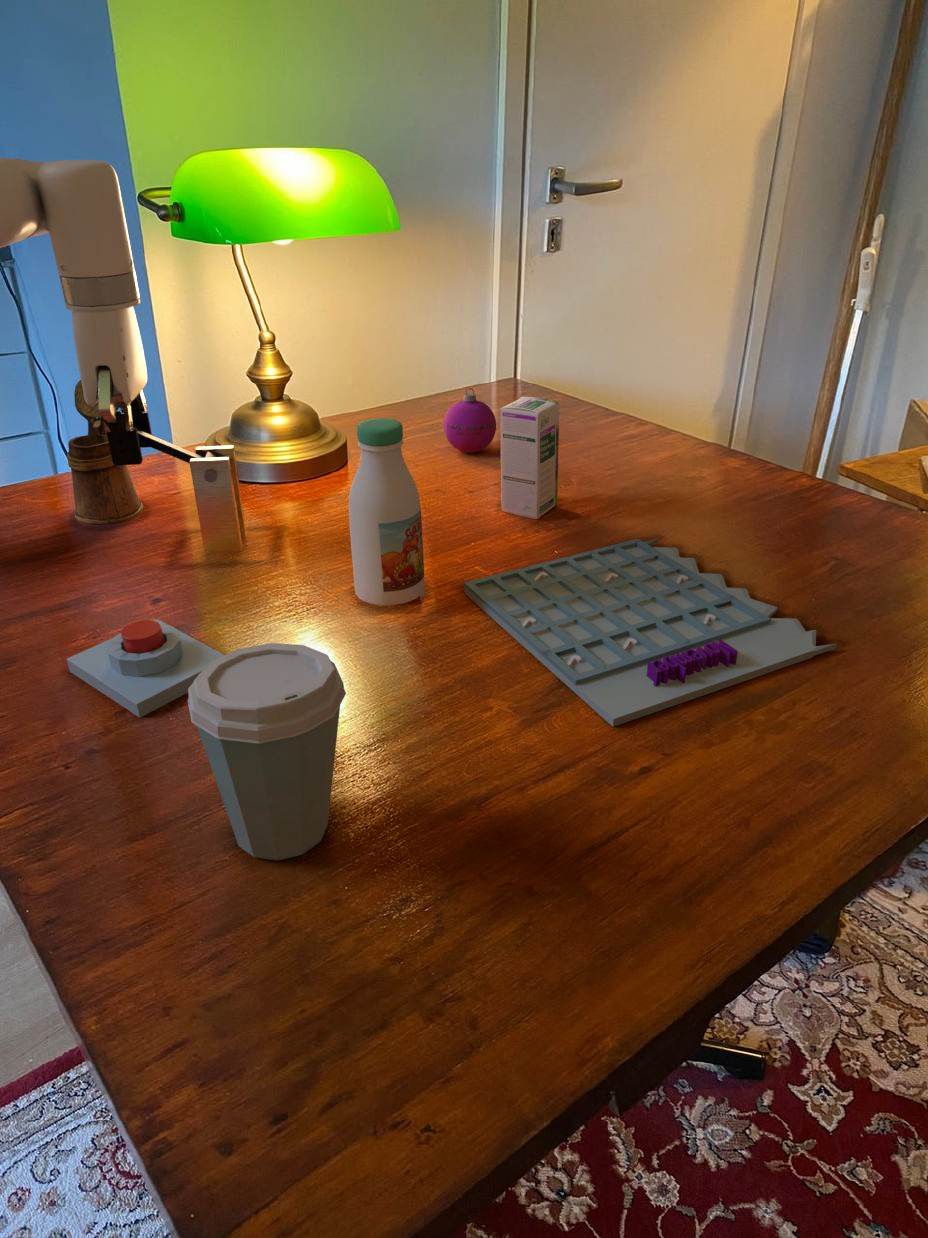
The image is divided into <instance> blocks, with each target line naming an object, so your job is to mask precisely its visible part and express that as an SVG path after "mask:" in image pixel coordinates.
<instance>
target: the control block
mask: <svg viewBox="0 0 928 1238" xmlns="http://www.w3.org/2000/svg"><path fill="white" fill-rule="evenodd" d="M151 620H152V621H156V622H158V623H159V624H160V625H161V628H162V633H163V638H164V644H163V646H162V647H160V648H158V649H156V650H154V651H152V652H147V653H142V654H135V653H128V652H127V651H126V650H125V648H124V643H123V639H122V635H121V632H120V633H117V634H116V635H115V636H114V637H112V638H109V639H108V640H105V641H103V642H101V643H98V644H96V645H94V646H92V647H89V648H88V649H85V650H83V651H81V652H78V653H76V654H74V655H72V656H70V657H67V658H66V662H67V666H68V670H69V672H70V673H71V674H73V675H74V676H76V677H77V678H79V679H81V680H82V681H83V682H85V683H86V684H88V685H89V686H91V687H92V688H94V689H95V690H97V691H99V692H100V693H101V694H103V695H105V697H108V698H109V699H111V700H112V701H114V702H115V703H117V704H118V705H119V706H121V707H122V708H124V709H126V710H128V711H129V712H131V713H132V714H133V715H135V716H137V718H142V717H144V716H146V715H148V714H150V713H152V712H154V711H156V710H157V709H159V708H161V707H163V706H166V705H167V704H169V703H171V702H173V701H174V700H176V699H178V698H180V697H182V696H184V695H186V694H188V689H189V687H190V686H191V685H192V684H193V682H194V680H195V679H196V678H197V676H198V675H199V674H200V673H201V672H202V671H203V670H204V668H205V667H206V666H207V665H208V664H209V663H210V662H211V661H214V660H216V659H218V658H220V657H222V656H224V655H225V654H223V653H222V652H220V651H218V650H217V649H214V648H213V647H211V646H209V645H207V644H205V643H203V642H201V641H200V640H197V639H196V638H194V637H192V636H190V635H188V634H186V633H184V632H183V631H181V630H179V629H177V628H175V627H173V626H171V625H170V624H169V623H166V622H164V621H162V620H161V619H158V618H154V619H151Z"/></svg>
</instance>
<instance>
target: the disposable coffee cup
mask: <svg viewBox="0 0 928 1238" xmlns="http://www.w3.org/2000/svg"><path fill="white" fill-rule="evenodd" d="M187 695H188V699H187V705H188V710H189V716H190V721H191V723H192V724H193V725H195V726H196V729H197V731H198V734H199V738H200V741H201V743H202V746H203V749H204V752H205V755H206V757H207V760H208V763H209V765H210V769H211V771H212V774H213V776H214V780H215V783H216V786H217V788H218V791H219V794H220V796H221V800H222V803H223V806H224V808H225V812H226V814H227V816H228V820H229V822H230V825H231V829H232V831H233V834H234V837H235V840H236V842H237V845H238V847H239V848H241V849H242V850H243V851H245V852H246V853H248V854H249V855H250V856H252V857H253V858H256V859H264V860H271V861H281V860H286V859H290V858H294V857H299V856H302V855H304V854H306V853H307V852H308V851H310V850H311V849H312V848H313V847H316V845H318V844H319V843H321V842H322V839H323V837H324V835H325V832H326V831H327V828H328V824H329V818H330V809H331V807H330V806H331V796H332V789H333V788H332V787H333V778H334V769H335V768H334V767H335V758H336V748H337V739H338V731H339V721H340V712H341V711H340V710H341V705H342V703H343V701H344V698H345V696H346V695H347V692H346V689H345V685H344V681H343V679H342V677H341V675H340V673H339V670H338V667H337V666H336V664H335V662H333V661H332V660H331V658H330V657H329V655H328V654H326V653H324V652H322V651H319V650H318V649H317V650H316V649H314V648H311V647H309V646H307V645H305V644H292V643H278V642H277V643H276V642H271V643H265V644H259V645H253V646H248V647H241V648H237V649H235V650H233V651H231V652H228V653H227V654H224V656H222V657H220V658H218V659H216V660H214V661H211V662H210V663H209V664H208V665H207V666H206V667H205V668H204V670H203V671H202V672H201V673H200V674H199V675H198V676H197V678H196V679H195V680H194V682H193V684H192V685H191V686H190V687H189V689H188V693H187Z"/></svg>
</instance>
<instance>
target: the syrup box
mask: <svg viewBox="0 0 928 1238" xmlns="http://www.w3.org/2000/svg"><path fill="white" fill-rule="evenodd" d="M499 409H500V412H499V413H500V495H501V496H500V501H501V502H500V503H501V504H500V505H501V511H502V512H504V513H508V514H510V515H514V516H518V517H523V518H529V519H533V520H539V519H540V518H541V517H542V516H544V515H545V514H546V513H548V512H549V511H550V510H552V509H553V508H554V507H556V506H557V505H558V491H559V490H558V489H559V487H558V486H559V447H560V445H559V444H560V443H559V442H560V441H559V439H560V438H559V437H560V432H559V431H560V401H556V400H554V399H548V398H544V397H538V396H537V397H536V396H523V395H522V396H520V397H519V398H518V399H516V400H515V401H512V402H511V403H509V404H506V405H503V406H501V407H500V408H499Z"/></svg>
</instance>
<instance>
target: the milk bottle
mask: <svg viewBox="0 0 928 1238" xmlns="http://www.w3.org/2000/svg"><path fill="white" fill-rule="evenodd" d="M403 428H404V427H403V424H402V422H400V421H399V420H397V419H394V418H388V417H374V418H369V419H366V420H362V421H361V422H359V423H358V424H357V425H356V436H357V440H358V443H357V446H358V448H360V457H359V462H358V467H357V470H356V471H355V475H354V477H353V480H352V483H351V486H350V489H349V496H348V524H349V535H350V536H349V537H350V550H351V562H352V573H353V584H354V585H353V586H354V593H355V595H356V597H357V598H358V599H359V600H361V601H363V602H365V603H368V604H371V605H376V606H396V605H401V604H406V603H409V602H412V601H414V600H416V599H418V598H419V600H420V602H422V601H423V599H424V597H425V564H424V563H425V562H424V541H423V520H422V508H421V506H422V505H421V499H420V493H419V490H418V487H417V484H416V481H415V480H414V478H413V476H412V474H411V472H410V470H409V468H408V466H407V463H406V461H405V459H404V455H403V452H402V451H403V450H402V446H403V445H404V440H403V438H404V429H403Z"/></svg>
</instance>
